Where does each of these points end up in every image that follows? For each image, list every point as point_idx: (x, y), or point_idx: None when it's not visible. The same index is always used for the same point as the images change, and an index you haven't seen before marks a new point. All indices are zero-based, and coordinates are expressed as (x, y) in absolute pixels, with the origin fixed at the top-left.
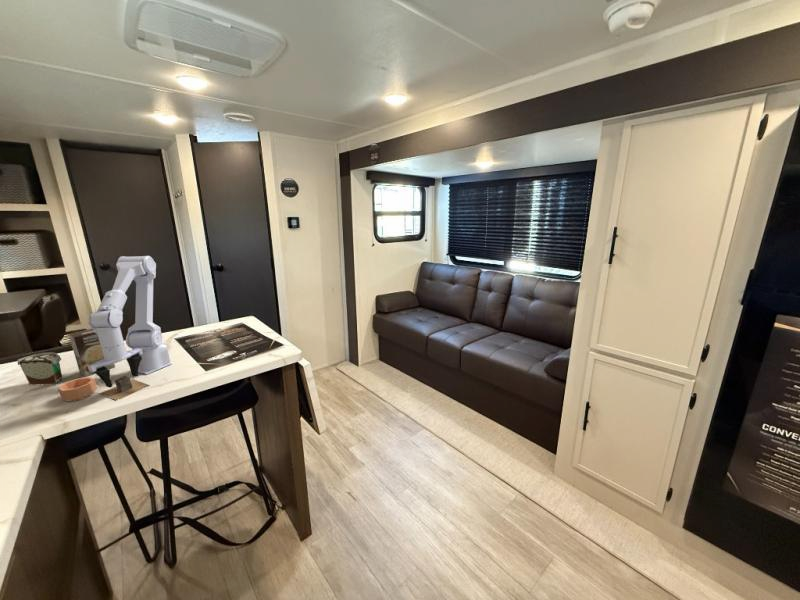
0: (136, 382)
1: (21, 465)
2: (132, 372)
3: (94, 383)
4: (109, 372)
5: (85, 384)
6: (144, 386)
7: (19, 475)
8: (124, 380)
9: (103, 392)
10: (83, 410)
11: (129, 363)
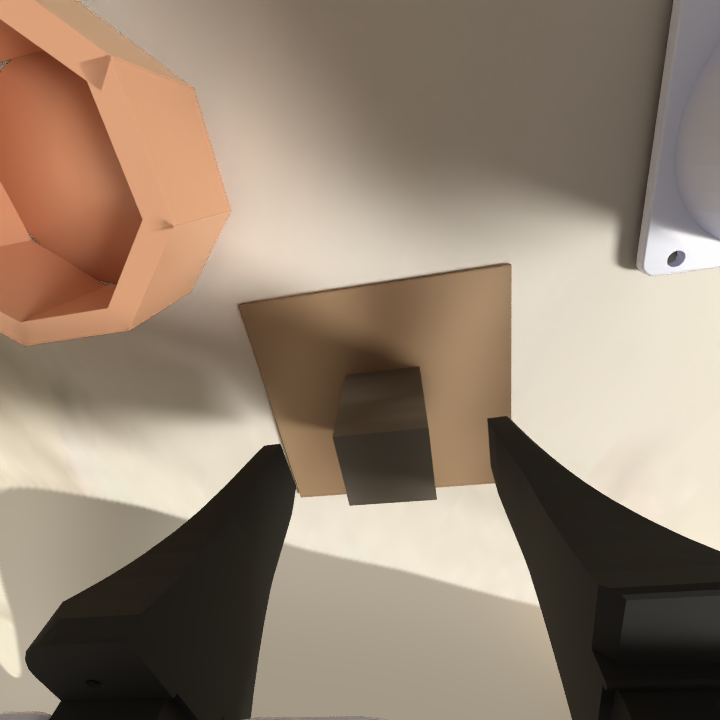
0: (489, 362)
1: (3, 629)
2: (500, 459)
3: (187, 243)
4: (251, 691)
5: (91, 315)
6: (481, 473)
7: (16, 659)
8: (387, 500)
9: (263, 318)
10: (146, 454)
11: (548, 539)
